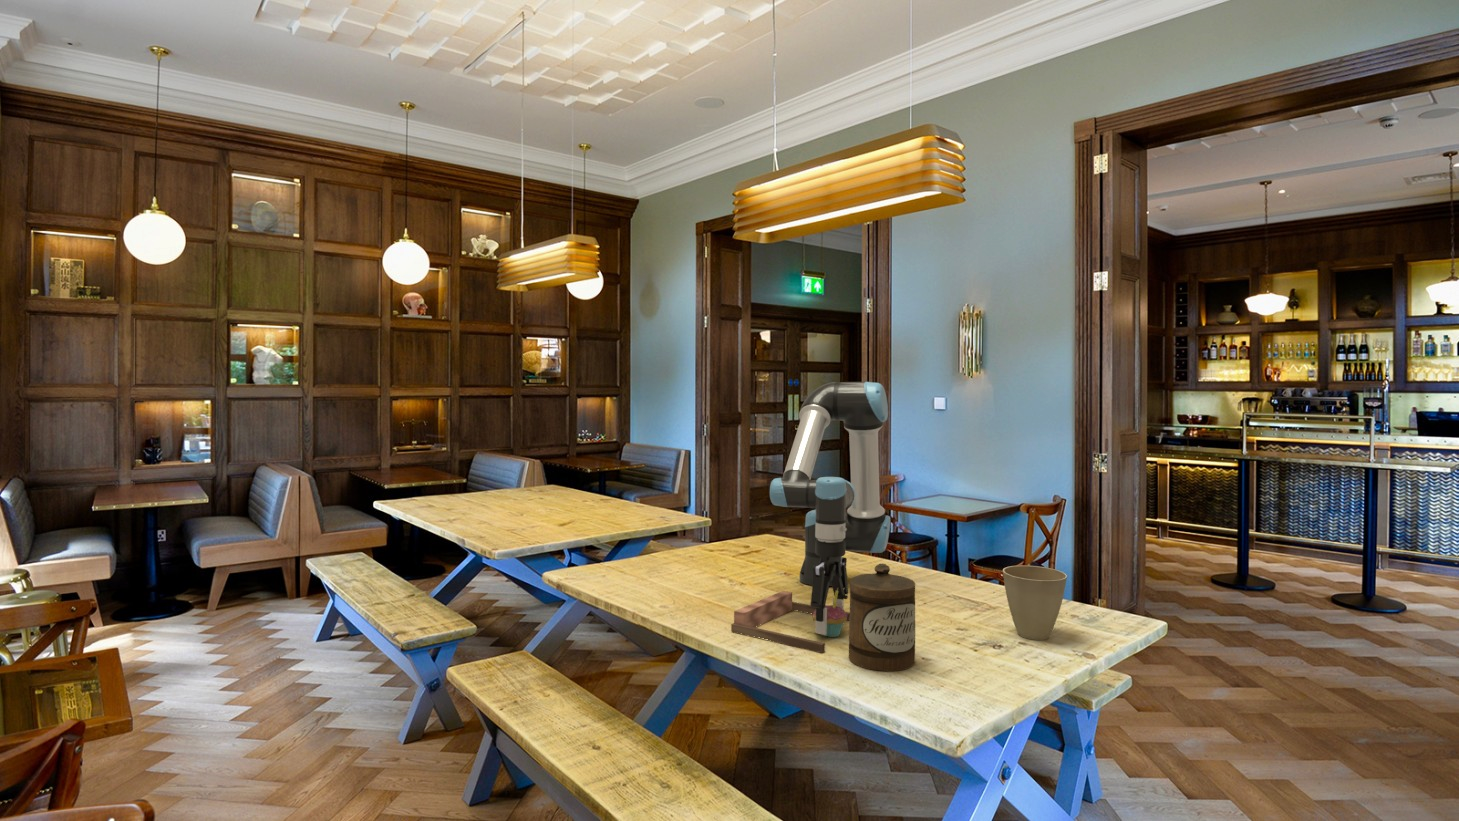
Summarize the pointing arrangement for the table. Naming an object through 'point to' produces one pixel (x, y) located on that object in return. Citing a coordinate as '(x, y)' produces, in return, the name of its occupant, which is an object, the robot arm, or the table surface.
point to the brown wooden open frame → (769, 610)
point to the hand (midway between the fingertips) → (829, 628)
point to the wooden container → (882, 621)
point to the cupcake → (834, 618)
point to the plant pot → (1034, 599)
